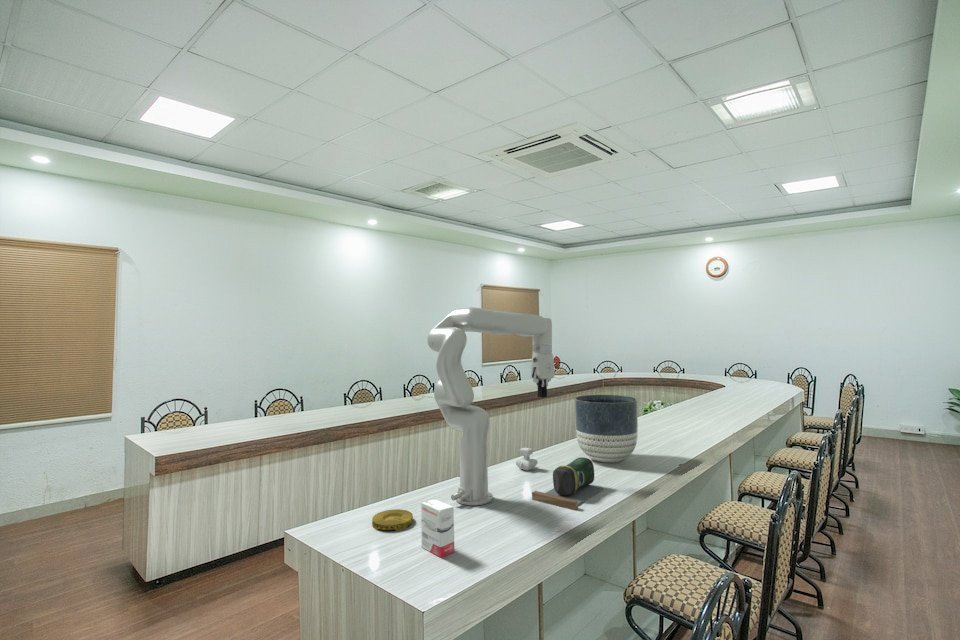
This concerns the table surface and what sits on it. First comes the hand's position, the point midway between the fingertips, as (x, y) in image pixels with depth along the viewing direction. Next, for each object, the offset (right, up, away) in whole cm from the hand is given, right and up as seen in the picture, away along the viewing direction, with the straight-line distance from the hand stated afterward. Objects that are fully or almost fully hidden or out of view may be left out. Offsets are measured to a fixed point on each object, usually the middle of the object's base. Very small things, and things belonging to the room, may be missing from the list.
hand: (542, 396), depth 179 cm
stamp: (-5, -32, +13) cm, 35 cm away
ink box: (-35, -31, -57) cm, 74 cm away
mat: (+8, -31, -17) cm, 36 cm away
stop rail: (0, -31, -26) cm, 41 cm away
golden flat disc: (-50, -32, -40) cm, 72 cm away
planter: (+32, -32, +25) cm, 52 cm away
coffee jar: (+15, -26, -7) cm, 31 cm away
